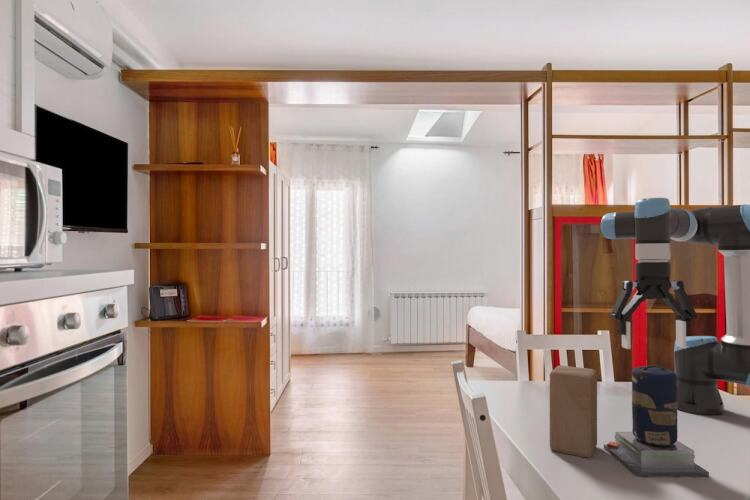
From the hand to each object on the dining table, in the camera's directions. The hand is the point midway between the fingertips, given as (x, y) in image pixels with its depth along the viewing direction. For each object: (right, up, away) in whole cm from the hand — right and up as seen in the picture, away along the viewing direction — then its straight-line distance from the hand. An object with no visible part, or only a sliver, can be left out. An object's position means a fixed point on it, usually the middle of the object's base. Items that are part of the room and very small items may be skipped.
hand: (653, 347), depth 121 cm
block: (-18, -27, +5) cm, 33 cm away
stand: (-2, -27, -3) cm, 27 cm away
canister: (-2, -22, -3) cm, 22 cm away
